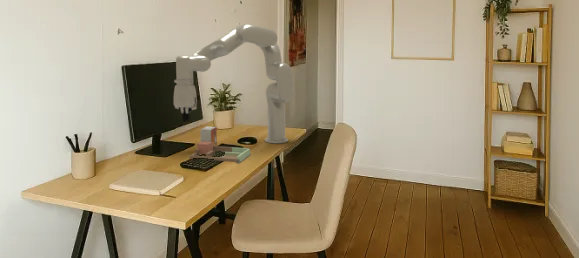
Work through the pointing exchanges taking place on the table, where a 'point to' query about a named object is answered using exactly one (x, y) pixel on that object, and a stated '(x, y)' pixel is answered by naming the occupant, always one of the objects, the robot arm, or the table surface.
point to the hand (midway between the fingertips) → (186, 121)
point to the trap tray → (230, 154)
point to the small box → (209, 135)
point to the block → (205, 147)
